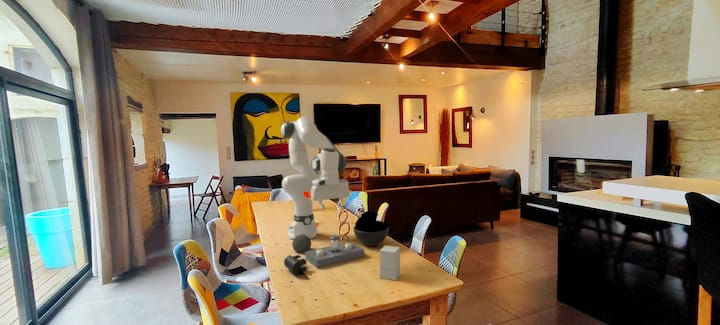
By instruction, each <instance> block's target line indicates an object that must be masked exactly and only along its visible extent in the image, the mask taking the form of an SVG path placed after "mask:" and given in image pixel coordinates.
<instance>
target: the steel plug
mask: <svg viewBox="0 0 720 325" xmlns="http://www.w3.org/2000/svg"><path fill="white" fill-rule="evenodd" d="M329 238H330V246H331V252H332V253H334V252H339V244H340V241H339V239H340V236H339V235H331V236H330V237H329Z"/></svg>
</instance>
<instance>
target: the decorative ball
mask: <svg viewBox="0 0 720 325" xmlns="http://www.w3.org/2000/svg"><path fill="white" fill-rule="evenodd" d="M311 246H312V240H311V239H310V238H309V237H308V236H307V235H304V234H300V235H298V236H296V237H295V238H294V239H292V250H293V251H295V252H296V253H300V254H301V253H302V254H305V252H306V251H310V249H311Z"/></svg>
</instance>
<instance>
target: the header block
mask: <svg viewBox="0 0 720 325" xmlns="http://www.w3.org/2000/svg"><path fill="white" fill-rule="evenodd" d="M342 244H343V247H342ZM304 254H305V258H304V259H305V260H306V261H308V262H309V264H311V265H312V266H314V267H315V268H316V269H320V268H324V267H328V266H333V265H336V264H340V263H345V262H348V261H352V260H356V259H361V258H365V249H364V248H362V247H360V246H359V245H356V243H354V242H352V241H348V242H344V243H339V252H334V253H332V252H331V245H330V246H326V247H325V246H324V247H321V248H320V247H319V248H316V249H312V250H310V249H309V250H308V251H306V252H304Z"/></svg>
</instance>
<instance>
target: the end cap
mask: <svg viewBox="0 0 720 325" xmlns="http://www.w3.org/2000/svg"><path fill="white" fill-rule="evenodd" d="M300 258H301V259H300ZM283 264H284V266H285V268H287V269H288V270H289V271H290V272H292V274H293V275H295V276H297V277H298V276H302V275H305V274H306V273H305V272H306V271H307V270H308V268H307V266H305V265H307V260H306V259H305V258H302V256H301V255H299V254H298V255H297V254H296V255H290V254H289V255H288V256H286V257H285V259H284V260H283ZM303 266H304V267H303Z"/></svg>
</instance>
